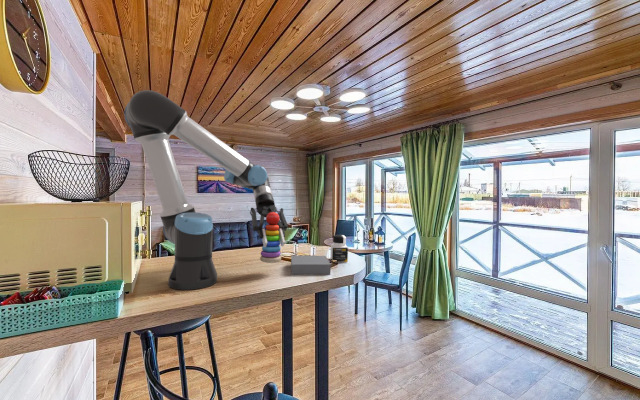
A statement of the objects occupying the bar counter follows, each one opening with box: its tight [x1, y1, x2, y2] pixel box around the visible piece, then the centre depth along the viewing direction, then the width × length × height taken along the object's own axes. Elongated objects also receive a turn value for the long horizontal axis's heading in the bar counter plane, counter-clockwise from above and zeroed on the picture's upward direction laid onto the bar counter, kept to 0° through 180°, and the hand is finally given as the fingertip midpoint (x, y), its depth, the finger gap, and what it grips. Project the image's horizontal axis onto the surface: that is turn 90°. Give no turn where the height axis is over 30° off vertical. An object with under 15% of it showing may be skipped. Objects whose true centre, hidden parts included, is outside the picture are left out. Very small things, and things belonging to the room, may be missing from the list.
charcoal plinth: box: [290, 255, 332, 276], centre depth 119 cm, size 15×15×4 cm
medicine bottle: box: [330, 234, 349, 263], centre depth 136 cm, size 7×7×12 cm
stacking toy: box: [259, 212, 282, 264], centre depth 111 cm, size 8×8×19 cm
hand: (274, 244), depth 108 cm, fingers closed on stacking toy, 6 cm apart
